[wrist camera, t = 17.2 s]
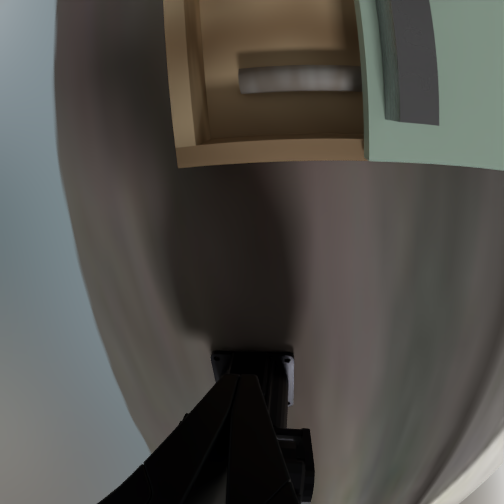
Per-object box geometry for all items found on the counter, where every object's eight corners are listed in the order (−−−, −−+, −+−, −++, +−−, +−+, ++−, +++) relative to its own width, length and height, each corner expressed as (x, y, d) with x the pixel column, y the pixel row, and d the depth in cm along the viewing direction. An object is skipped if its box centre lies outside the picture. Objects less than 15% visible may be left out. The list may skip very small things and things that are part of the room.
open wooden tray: (458, 154, 16) (492, 168, 13) (199, 155, 18) (177, 168, 15) (445, -21, 11) (473, -40, 8) (185, -27, 13) (162, -51, 10)
